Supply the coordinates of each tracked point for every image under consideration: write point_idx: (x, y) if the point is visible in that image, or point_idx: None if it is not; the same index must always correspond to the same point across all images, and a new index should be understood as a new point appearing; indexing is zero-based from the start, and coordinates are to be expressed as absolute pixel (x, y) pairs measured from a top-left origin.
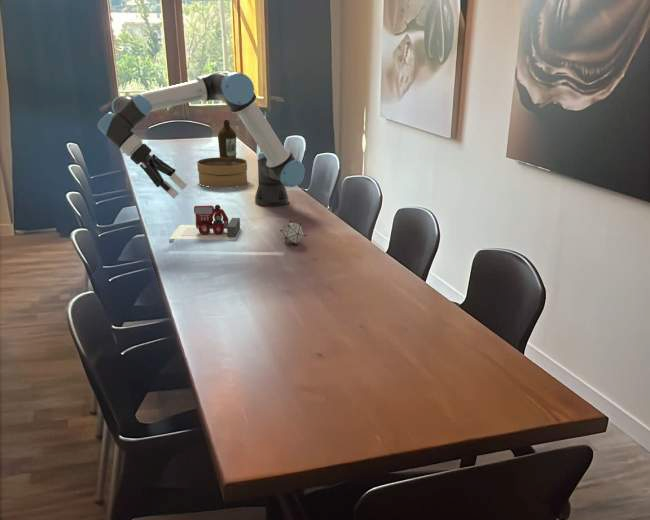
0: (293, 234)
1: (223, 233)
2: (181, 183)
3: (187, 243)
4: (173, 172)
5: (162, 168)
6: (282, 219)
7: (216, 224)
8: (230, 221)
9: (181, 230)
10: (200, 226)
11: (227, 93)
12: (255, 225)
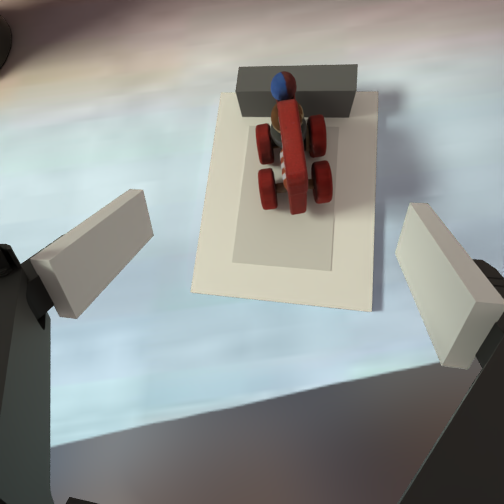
0: None
1: None
2: (129, 224)
3: (389, 243)
4: (24, 271)
5: (26, 407)
6: (145, 7)
7: (325, 129)
8: None
9: (264, 278)
10: (332, 188)
11: None
12: (197, 66)
